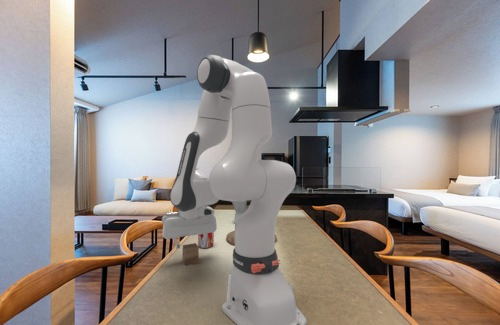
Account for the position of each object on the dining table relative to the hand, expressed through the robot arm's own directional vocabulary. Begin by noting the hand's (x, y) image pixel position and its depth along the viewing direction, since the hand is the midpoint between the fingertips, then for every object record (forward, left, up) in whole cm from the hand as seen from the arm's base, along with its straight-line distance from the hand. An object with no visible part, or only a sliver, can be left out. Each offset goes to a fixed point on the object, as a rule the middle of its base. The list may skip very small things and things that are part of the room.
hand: (190, 246), depth 88 cm
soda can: (+12, -10, -6) cm, 17 cm away
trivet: (+11, -33, -6) cm, 35 cm away
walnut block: (-1, 0, -6) cm, 6 cm away
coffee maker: (+38, -41, -6) cm, 56 cm away
